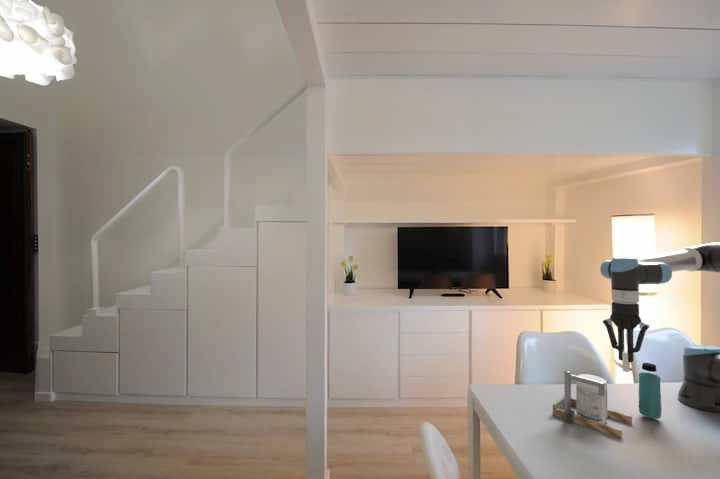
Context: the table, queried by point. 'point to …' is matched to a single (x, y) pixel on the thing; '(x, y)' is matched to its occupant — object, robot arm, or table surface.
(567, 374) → the hook post
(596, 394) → the supplement tub
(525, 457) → the table surface
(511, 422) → the table surface
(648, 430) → the table surface
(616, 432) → the bay board
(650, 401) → the beverage bottle
